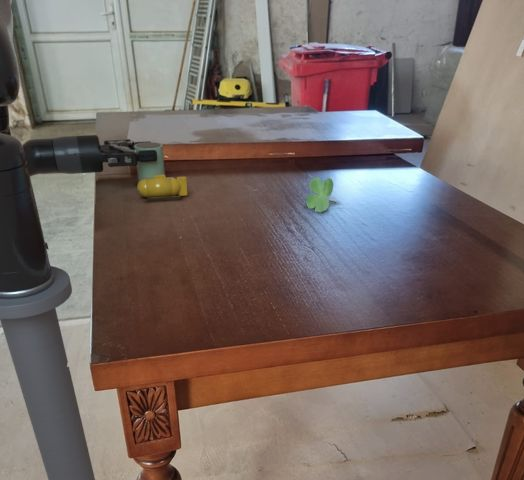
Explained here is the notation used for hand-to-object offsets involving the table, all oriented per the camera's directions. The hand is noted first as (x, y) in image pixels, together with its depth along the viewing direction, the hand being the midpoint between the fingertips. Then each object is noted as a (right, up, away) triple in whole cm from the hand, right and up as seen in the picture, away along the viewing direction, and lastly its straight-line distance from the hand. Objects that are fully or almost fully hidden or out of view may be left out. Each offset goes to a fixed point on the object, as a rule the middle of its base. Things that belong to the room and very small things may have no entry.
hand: (154, 150), depth 116 cm
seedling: (+37, -15, -9) cm, 41 cm away
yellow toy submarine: (+3, -12, -5) cm, 13 cm away
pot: (-1, -6, +4) cm, 7 cm away
